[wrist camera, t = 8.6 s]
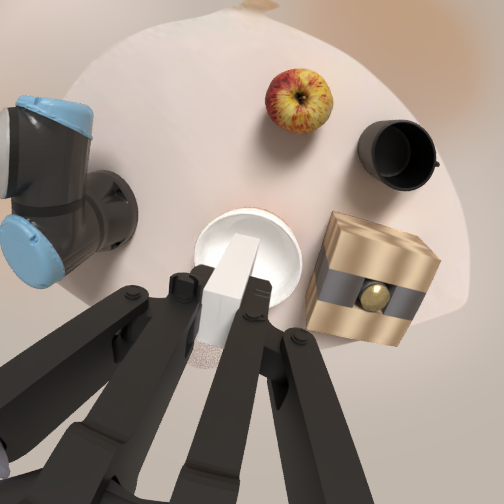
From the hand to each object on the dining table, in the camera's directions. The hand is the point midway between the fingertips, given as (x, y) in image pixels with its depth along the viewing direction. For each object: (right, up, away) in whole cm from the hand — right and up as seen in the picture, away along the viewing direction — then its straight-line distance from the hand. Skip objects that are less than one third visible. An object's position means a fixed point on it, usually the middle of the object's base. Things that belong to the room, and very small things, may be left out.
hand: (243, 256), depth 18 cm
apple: (+8, +22, +23) cm, 33 cm away
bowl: (+1, +2, +33) cm, 33 cm away
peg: (+19, -3, +30) cm, 36 cm away
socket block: (+19, -2, +31) cm, 37 cm away
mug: (+23, +16, +23) cm, 36 cm away
